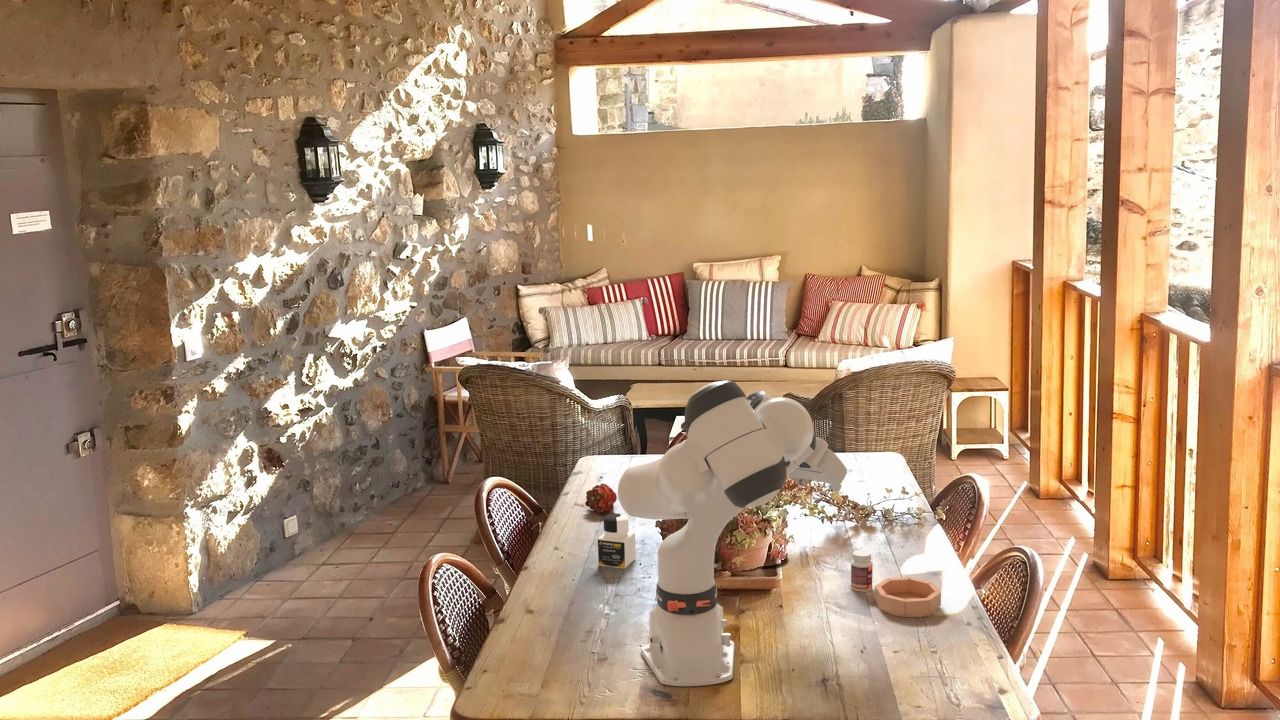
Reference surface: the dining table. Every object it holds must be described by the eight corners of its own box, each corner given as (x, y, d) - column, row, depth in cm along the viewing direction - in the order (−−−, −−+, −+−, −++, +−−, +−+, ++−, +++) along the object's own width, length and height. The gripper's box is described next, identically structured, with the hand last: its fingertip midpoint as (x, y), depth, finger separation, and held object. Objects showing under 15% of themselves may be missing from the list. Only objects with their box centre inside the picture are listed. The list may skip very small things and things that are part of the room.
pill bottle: (872, 592, 246) (872, 557, 245) (850, 591, 247) (851, 556, 246) (872, 584, 251) (872, 549, 249) (851, 583, 252) (851, 549, 250)
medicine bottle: (598, 566, 268) (596, 519, 265) (609, 556, 274) (608, 510, 272) (625, 569, 265) (623, 521, 263) (636, 559, 271) (634, 512, 269)
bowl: (947, 615, 233) (947, 598, 232) (887, 619, 232) (887, 602, 231) (926, 592, 246) (926, 576, 245) (869, 595, 245) (869, 579, 244)
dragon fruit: (595, 524, 303) (601, 516, 315) (620, 506, 302) (625, 498, 314) (577, 499, 303) (583, 492, 315) (601, 481, 303) (607, 475, 314)
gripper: (747, 454, 240) (779, 491, 247) (817, 465, 224) (850, 504, 231) (760, 431, 242) (792, 469, 249) (831, 440, 226) (863, 480, 233)
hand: (821, 486), depth 240 cm, fingers open, 8 cm apart
